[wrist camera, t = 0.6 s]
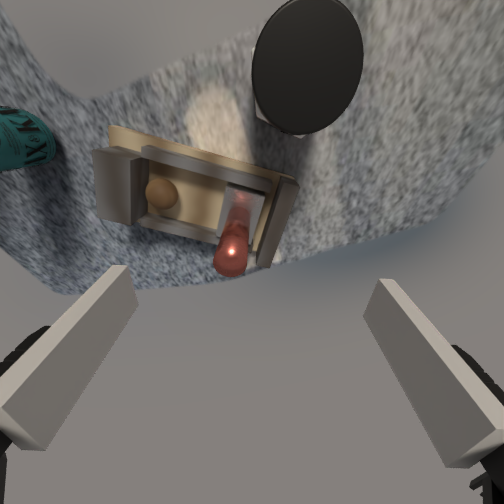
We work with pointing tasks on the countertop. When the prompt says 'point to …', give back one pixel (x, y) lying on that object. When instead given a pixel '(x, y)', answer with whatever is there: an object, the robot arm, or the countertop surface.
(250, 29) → the countertop surface
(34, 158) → the beverage bottle
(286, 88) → the jar
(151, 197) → the nut
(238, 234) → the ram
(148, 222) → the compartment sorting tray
